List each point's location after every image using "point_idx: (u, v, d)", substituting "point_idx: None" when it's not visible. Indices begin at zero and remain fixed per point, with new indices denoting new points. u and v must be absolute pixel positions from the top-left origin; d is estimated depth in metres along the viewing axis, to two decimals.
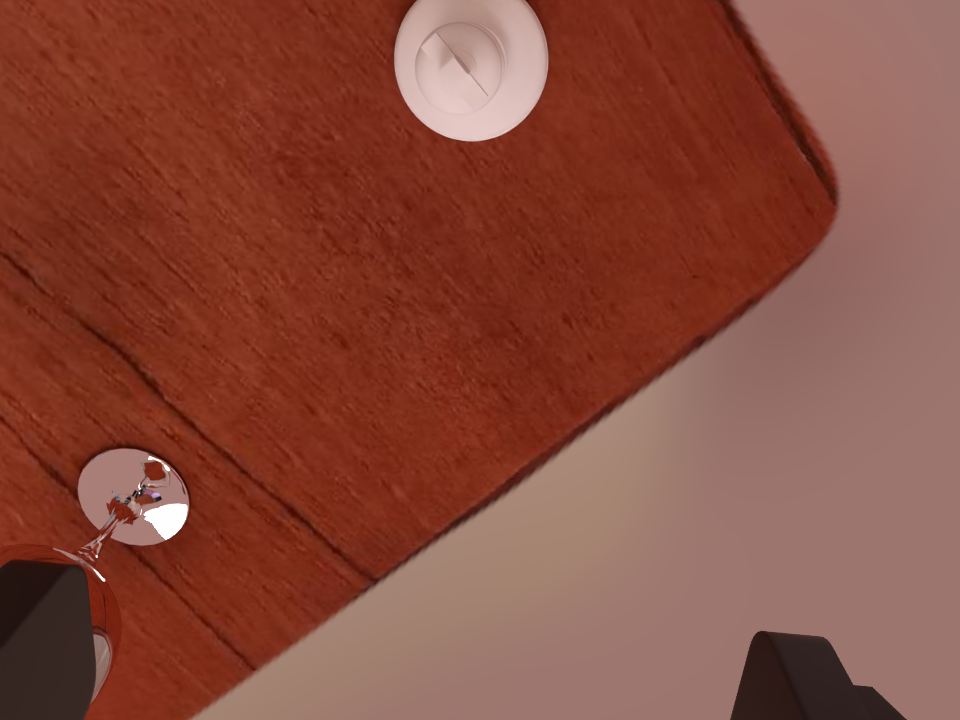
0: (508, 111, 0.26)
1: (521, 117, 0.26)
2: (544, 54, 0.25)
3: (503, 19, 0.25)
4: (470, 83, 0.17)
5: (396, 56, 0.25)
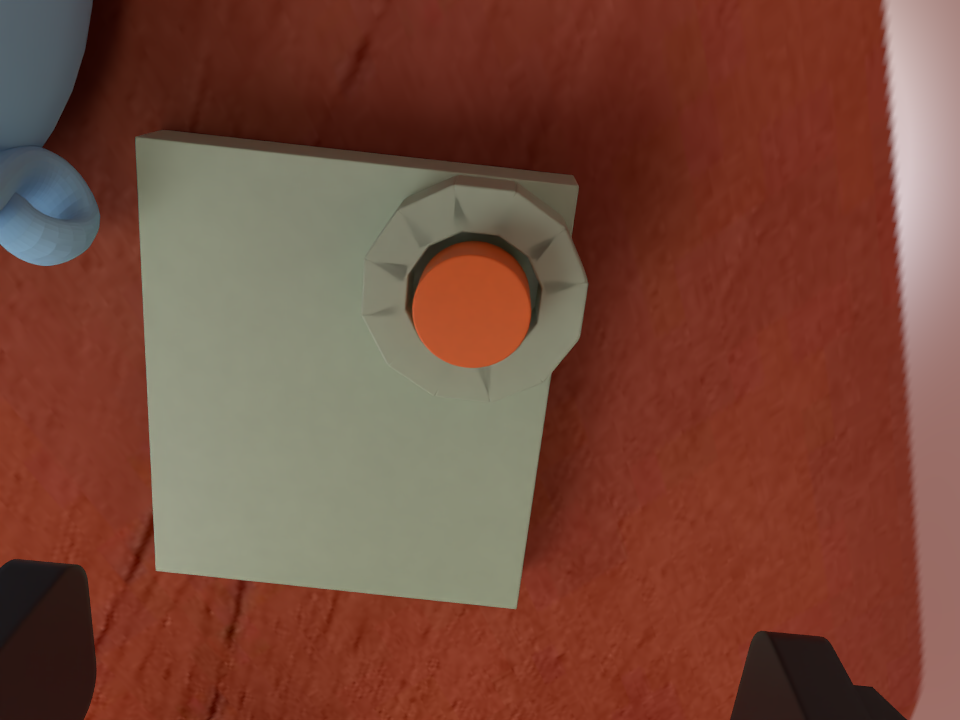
0: None
1: None
2: None
3: None
4: None
5: None
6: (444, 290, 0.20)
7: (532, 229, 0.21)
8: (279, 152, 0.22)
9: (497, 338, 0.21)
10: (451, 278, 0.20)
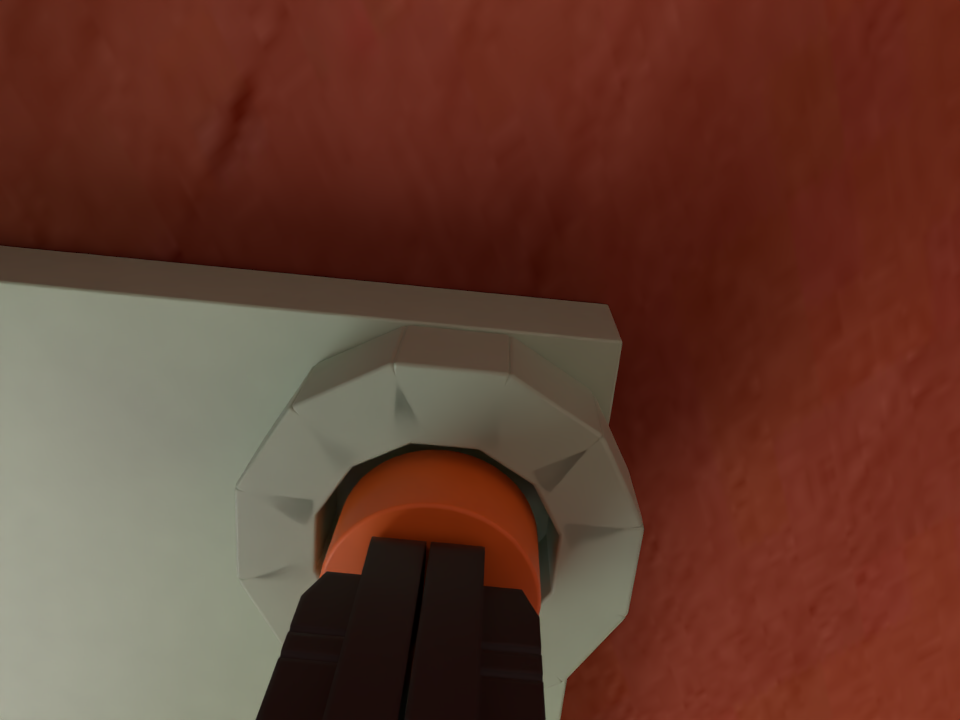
0: None
1: None
2: None
3: None
4: None
5: None
6: None
7: (541, 439, 0.11)
8: (89, 288, 0.12)
9: None
10: None
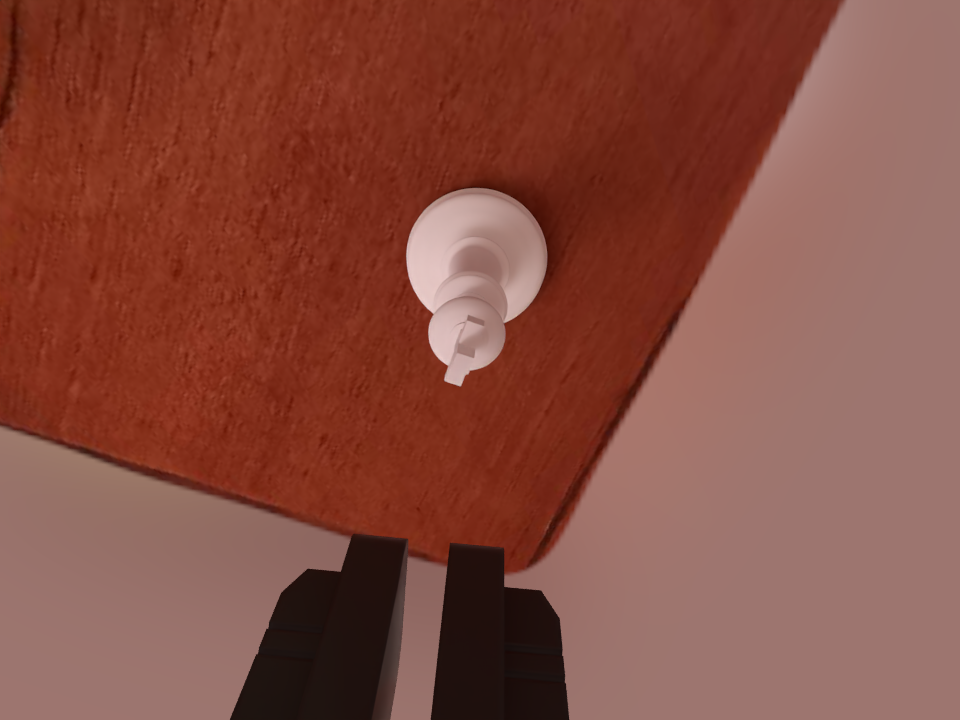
0: None
1: None
2: (513, 316, 0.29)
3: (521, 274, 0.28)
4: None
5: (446, 202, 0.27)
6: None
7: None
8: None
9: None
10: None
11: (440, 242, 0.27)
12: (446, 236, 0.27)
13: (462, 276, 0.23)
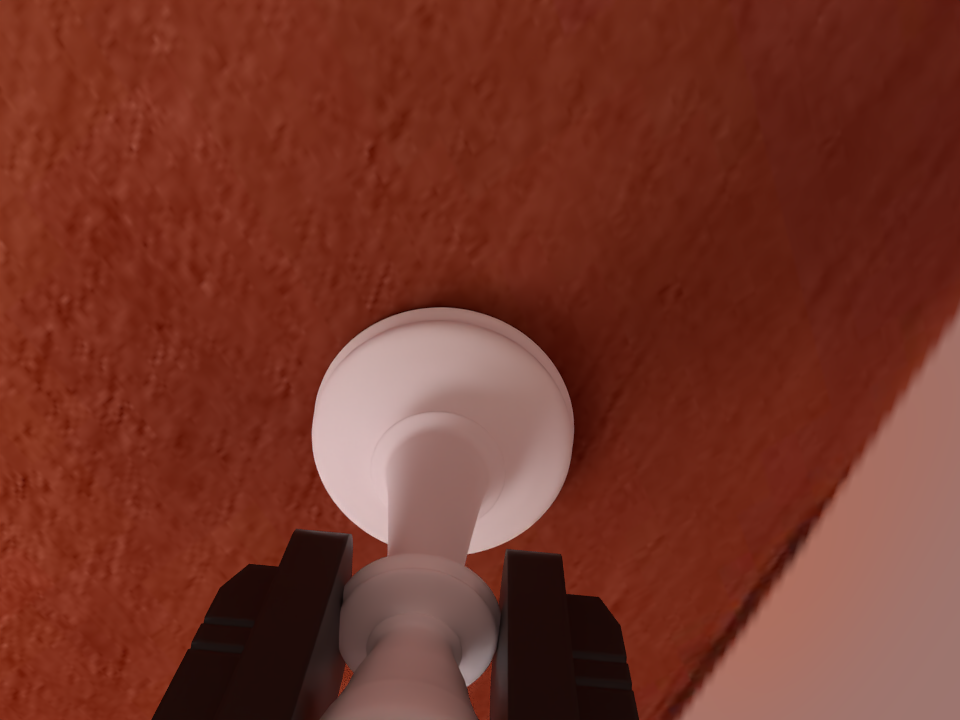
0: None
1: None
2: (512, 537, 0.16)
3: (528, 472, 0.15)
4: None
5: (383, 339, 0.14)
6: None
7: None
8: None
9: None
10: None
11: (372, 415, 0.14)
12: (384, 405, 0.14)
13: (398, 568, 0.10)
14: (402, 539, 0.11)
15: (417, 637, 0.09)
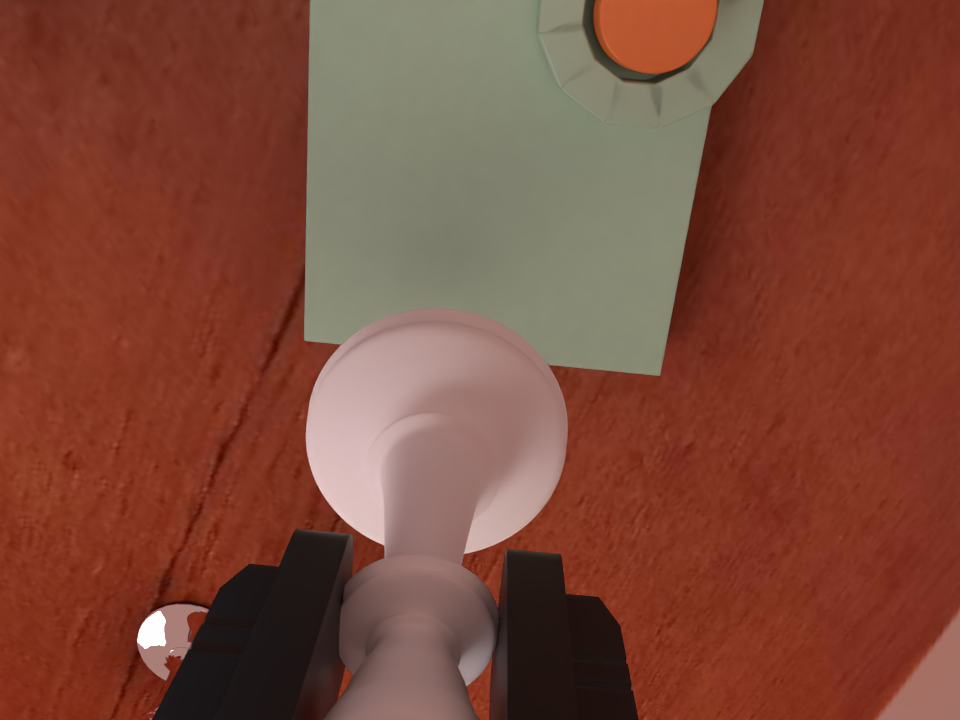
0: None
1: None
2: (507, 537, 0.16)
3: (522, 472, 0.15)
4: None
5: (377, 340, 0.14)
6: None
7: None
8: None
9: (682, 39, 0.21)
10: None
11: (366, 416, 0.14)
12: (378, 405, 0.14)
13: (396, 570, 0.10)
14: (399, 540, 0.11)
15: (417, 638, 0.09)
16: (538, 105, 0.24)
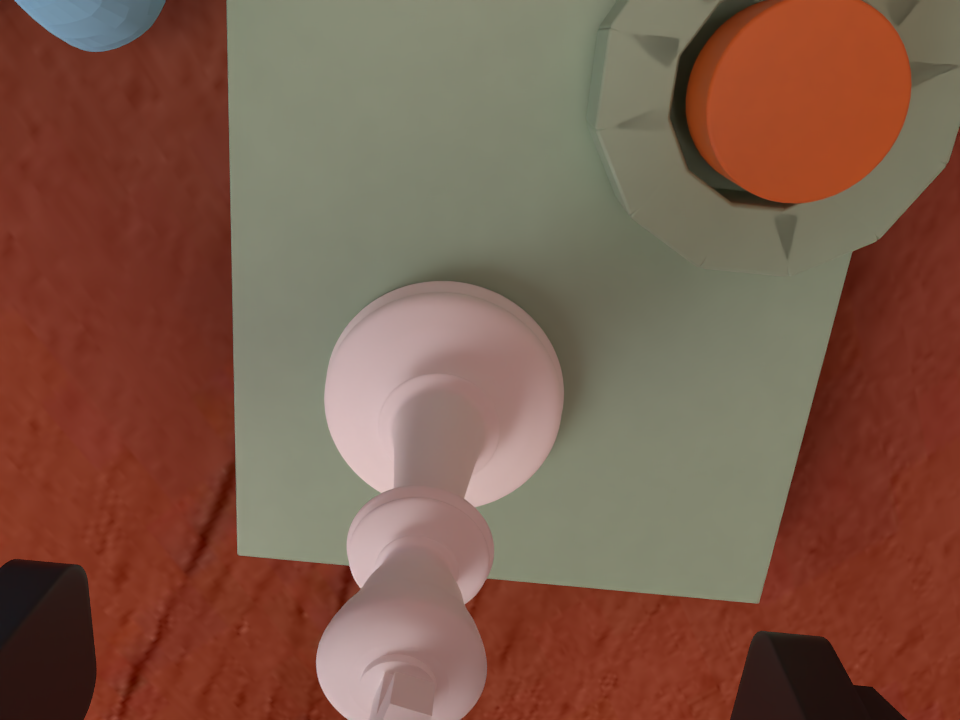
0: None
1: None
2: (507, 493, 0.17)
3: (521, 431, 0.16)
4: None
5: (389, 309, 0.16)
6: (767, 61, 0.12)
7: None
8: None
9: (847, 148, 0.12)
10: (782, 38, 0.12)
11: (379, 378, 0.16)
12: (390, 368, 0.16)
13: (402, 498, 0.11)
14: (406, 480, 0.13)
15: (419, 554, 0.11)
16: (588, 228, 0.16)
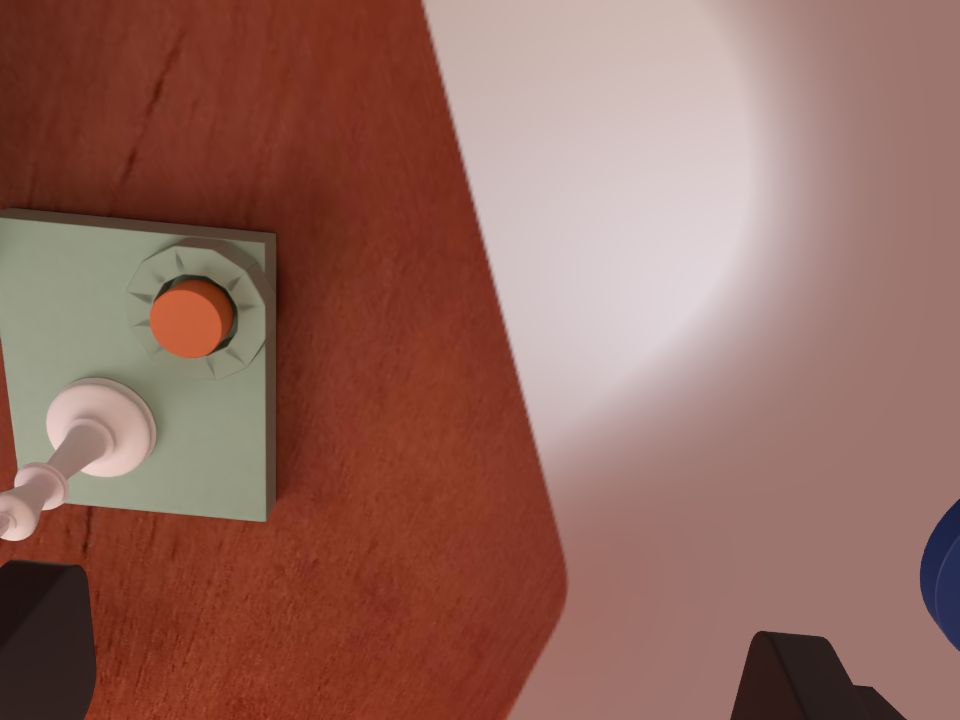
0: (86, 468, 0.38)
1: (91, 474, 0.38)
2: (131, 469, 0.38)
3: (128, 442, 0.37)
4: None
5: (67, 390, 0.37)
6: (167, 311, 0.33)
7: (225, 272, 0.34)
8: (76, 224, 0.35)
9: (203, 339, 0.34)
10: (170, 303, 0.33)
11: (64, 419, 0.37)
12: (68, 415, 0.37)
13: (30, 467, 0.33)
14: (48, 461, 0.34)
15: (29, 484, 0.32)
16: None
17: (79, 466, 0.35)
